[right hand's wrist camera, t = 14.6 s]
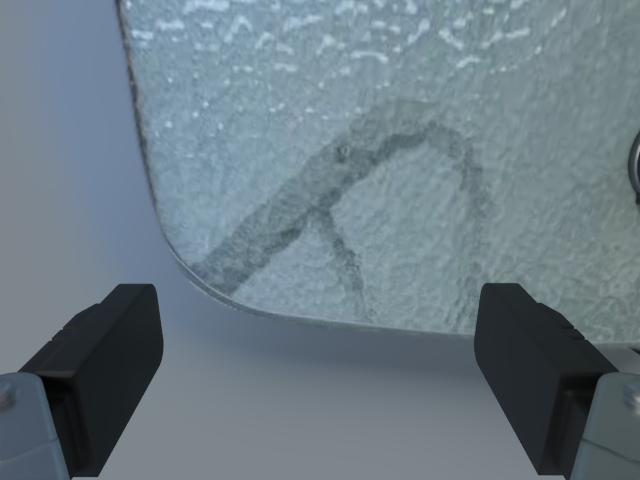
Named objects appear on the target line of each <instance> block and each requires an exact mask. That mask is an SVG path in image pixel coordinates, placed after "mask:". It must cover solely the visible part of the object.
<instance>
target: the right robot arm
mask: <svg viewBox="0 0 640 480" xmlns="http://www.w3.org/2000/svg"><path fill="white" fill-rule="evenodd" d="M628 170H629V176H630V180H631V182H632V185H633V186H634V188H635V190H636V191H637V198H636V204H638V205H640V132H639V133H638V135H637V137H636V139H635V141H634V143H633V145H632V148H631V151H630V155H629V162H628ZM628 348H630V349H631V350H633V351H634V352H636V353H637V354H639V355H640V349H639V348H633V347H628ZM474 350H475V357H476V361H477V363H478V366H479V367H480V369H481V371H482V373H483V375H484V377H485V379H486V380H487V382H488V384H489V386H490V388H491V389H492V391H493V393H494V395H495V397H496V399H497V400H498V402H499V404H500V406H501V408H502V409H503V411H504V413H505V415H506V417H507V419H508V420H509V422H510V424H511V426H512V428H513V430H514V431H515V433H516V435H517V437H518V439H519V440H520V442H521V444H522V446H523V448H524V450H525V451H526V453H527V455H528V457H529V459H530V461H531V463H532V464H533V466H534V468H535V470H536V472H537V473H538V475H563V476H564V478H565V479H566V480H640V375H638V374H633V373H626V372H619V371H618V370H617V369H616V368H615V367H614V366H613V365H612V364H611V363H610V362H609V361H608V360H607V359H606V358H605V357H604V356H603V355H602V354H601V353H600V352H599V351H598V350H597V349H596V348H595V347H594V346H593V345H592V344H591V343H590V342H589V341H588V340H585V337H584V336H583V335H582V334H581V333H580V332H579V331H578V330H577V329H574V326H573V325H572V324H571V323H570V322H569V321H568V320H567V319H566V318H565V317H564V316H563V315H562V314H560V313H559V312H557V311H555V310H553V309H551V308H550V307H548V306H546V305H544V304H542V303H537V302H536V301H535V300H534V299H533V298H532V297H531V296H530V295H529V294H528V293H527V292H526V291H525V290H524V289H523V288H522V287H521V286H520V285H519V284H518V283H485V284H484V285H483V287H482V290H481V294H480V302H479V309H478V316H477V323H476V331H475V338H474ZM162 356H163V334H162V327H161V320H160V313H159V306H158V298H157V292H156V289H155V287H154V285H153V284H119V285H118V286H116V288H115V289H114V290H113V291H112V292H111V293H110V294H109V295H108V296H107V297H106V298H105V299H104V300H103V301H102V302H101V303H100V304H94V305H93V306H91V307H89V308H87V309H85V310H83V311H82V312H80V313H78V314H76V315H75V316H74V317H73V318H72V319H71V320H70V321H69V322H68V323H67V324H66V325H65V326H64V327H63V330H60V331H59V332H58V333H57V334H56V335H55V336H54V337H53V338H52V341H49V342H48V343H47V344H46V345H45V346H43V347H42V348H41V349H40V350H39V351H38V352H37V353H36V354H35V355H34V356H33V357H32V358H31V359H30V360H29V361H28V362H27V363H26V364H25V365H24V366H23V367H22V368H21V369H20V370H19V371H18V372H14V373H7V374H2V375H0V480H71V479H72V478H73V477H98V476H99V474H100V472H101V470H102V469H103V467H104V465H105V463H106V461H107V460H108V458H109V456H110V454H111V452H112V451H113V449H114V447H115V445H116V443H117V442H118V440H119V438H120V436H121V434H122V432H123V431H124V429H125V427H126V425H127V424H128V422H129V420H130V418H131V416H132V415H133V413H134V411H135V409H136V407H137V405H138V404H139V402H140V400H141V398H142V396H143V395H144V393H145V391H146V389H147V387H148V386H149V384H150V382H151V380H152V378H153V377H154V375H155V373H156V371H157V369H158V368H159V366H160V363H161V360H162Z"/></svg>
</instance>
